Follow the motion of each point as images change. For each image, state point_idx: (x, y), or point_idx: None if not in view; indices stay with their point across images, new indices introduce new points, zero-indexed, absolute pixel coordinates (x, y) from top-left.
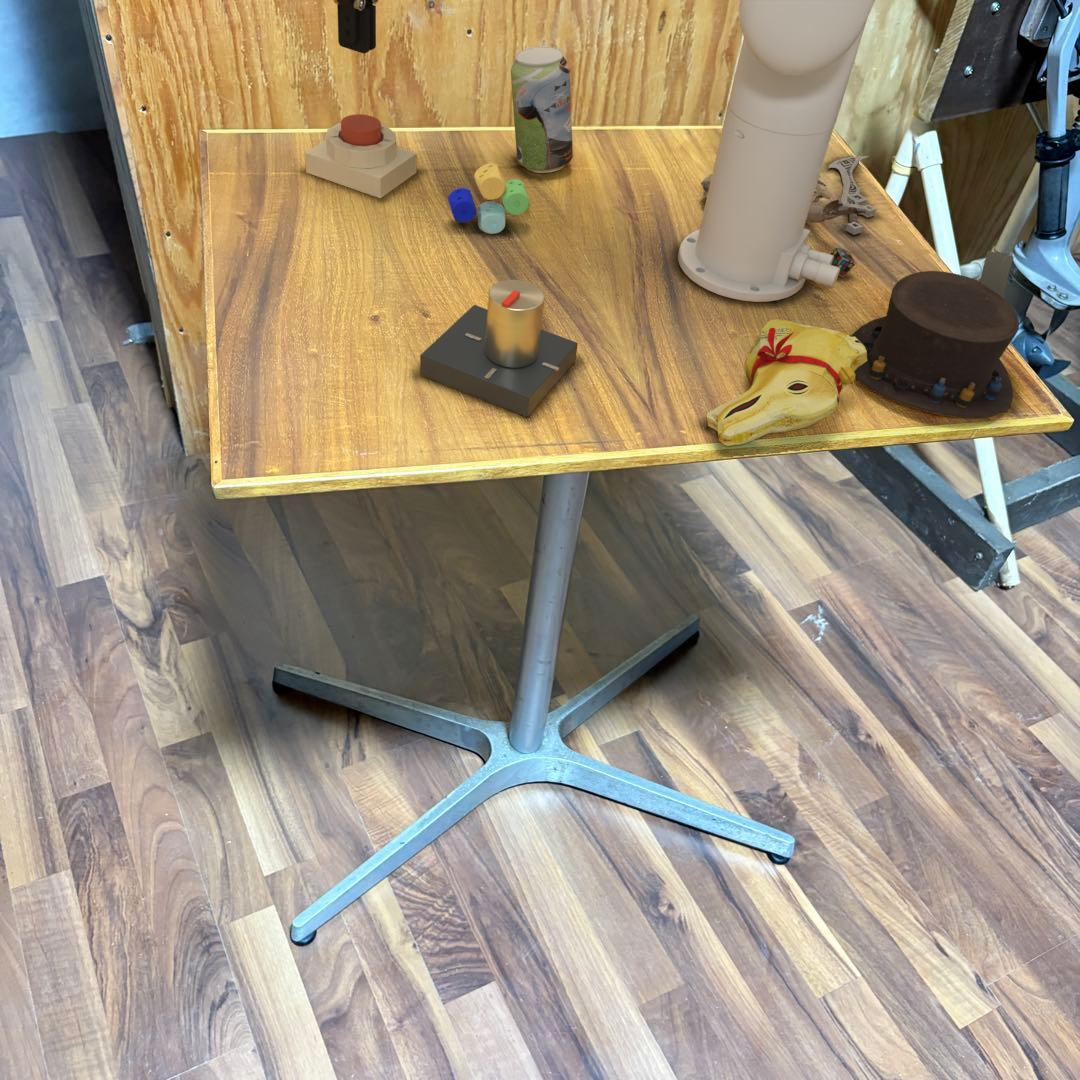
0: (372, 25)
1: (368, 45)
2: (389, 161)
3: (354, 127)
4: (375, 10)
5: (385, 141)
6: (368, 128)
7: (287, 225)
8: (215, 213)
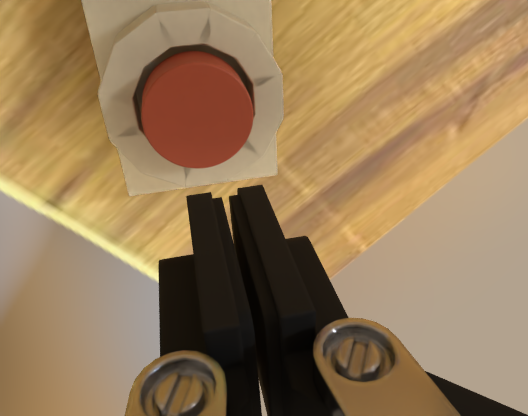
0: (226, 254)
1: (253, 197)
2: (184, 1)
3: (235, 112)
4: (206, 310)
5: (175, 35)
6: (213, 80)
7: (454, 42)
8: (468, 158)
